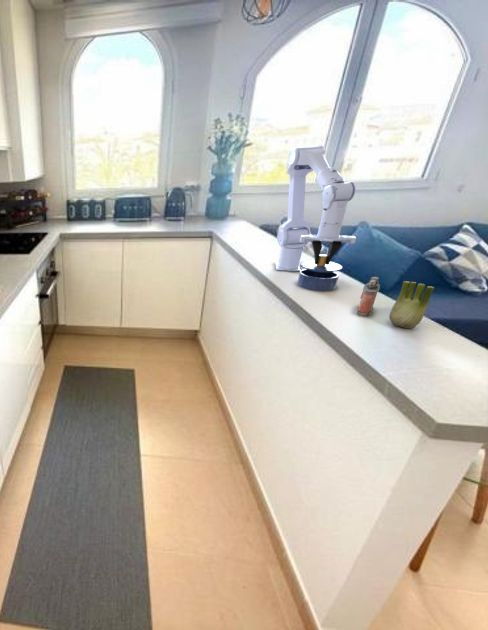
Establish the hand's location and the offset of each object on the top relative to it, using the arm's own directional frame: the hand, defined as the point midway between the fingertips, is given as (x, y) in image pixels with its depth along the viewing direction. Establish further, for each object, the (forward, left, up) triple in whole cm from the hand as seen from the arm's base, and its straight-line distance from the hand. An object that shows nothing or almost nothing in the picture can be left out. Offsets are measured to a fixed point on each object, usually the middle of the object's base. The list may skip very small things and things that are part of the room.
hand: (321, 263), depth 115 cm
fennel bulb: (+28, +15, -8) cm, 33 cm away
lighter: (+20, +9, -8) cm, 23 cm away
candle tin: (0, 0, -8) cm, 8 cm away
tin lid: (0, 0, -1) cm, 1 cm away
